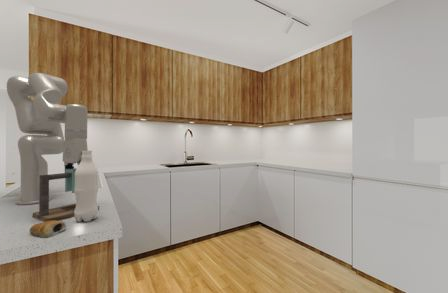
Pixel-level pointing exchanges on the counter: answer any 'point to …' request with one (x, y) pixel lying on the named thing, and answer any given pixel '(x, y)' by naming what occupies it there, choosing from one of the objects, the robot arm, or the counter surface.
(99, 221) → the counter surface
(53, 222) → the pastry
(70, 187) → the teal rectangular block
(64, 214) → the hook shelf
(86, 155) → the water bottle
